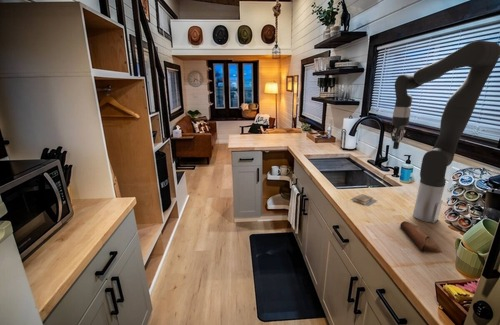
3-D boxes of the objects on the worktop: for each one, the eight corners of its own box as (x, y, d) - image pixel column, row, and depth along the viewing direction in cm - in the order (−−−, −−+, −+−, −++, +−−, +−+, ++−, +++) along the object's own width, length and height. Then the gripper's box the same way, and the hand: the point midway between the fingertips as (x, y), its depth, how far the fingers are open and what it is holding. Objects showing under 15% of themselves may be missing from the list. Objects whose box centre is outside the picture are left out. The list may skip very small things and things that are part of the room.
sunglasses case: (445, 253, 95) (439, 239, 93) (426, 260, 96) (419, 247, 95) (419, 227, 112) (413, 215, 110) (403, 233, 114) (397, 222, 112)
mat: (377, 201, 136) (377, 200, 136) (368, 207, 130) (368, 206, 130) (359, 195, 144) (359, 194, 144) (350, 200, 138) (350, 199, 138)
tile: (372, 197, 136) (365, 201, 131) (372, 200, 137) (364, 204, 132) (362, 193, 141) (354, 198, 136) (361, 196, 141) (354, 200, 136)
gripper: (403, 117, 124) (397, 152, 129) (414, 115, 132) (408, 148, 137) (387, 116, 129) (382, 149, 134) (398, 114, 137) (393, 145, 142)
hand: (395, 148), depth 136 cm, fingers closed
